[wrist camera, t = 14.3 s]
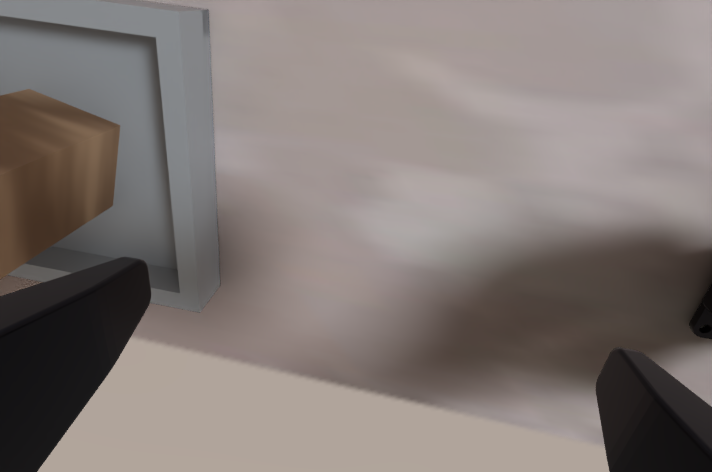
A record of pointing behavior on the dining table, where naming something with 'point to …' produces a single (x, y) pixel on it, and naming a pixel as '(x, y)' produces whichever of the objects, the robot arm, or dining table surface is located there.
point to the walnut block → (50, 173)
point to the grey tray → (130, 132)
